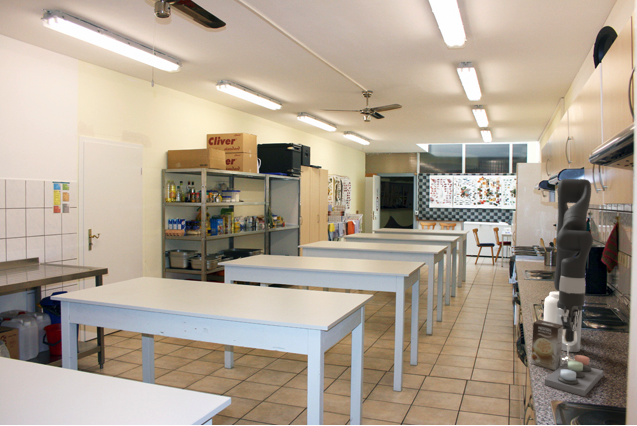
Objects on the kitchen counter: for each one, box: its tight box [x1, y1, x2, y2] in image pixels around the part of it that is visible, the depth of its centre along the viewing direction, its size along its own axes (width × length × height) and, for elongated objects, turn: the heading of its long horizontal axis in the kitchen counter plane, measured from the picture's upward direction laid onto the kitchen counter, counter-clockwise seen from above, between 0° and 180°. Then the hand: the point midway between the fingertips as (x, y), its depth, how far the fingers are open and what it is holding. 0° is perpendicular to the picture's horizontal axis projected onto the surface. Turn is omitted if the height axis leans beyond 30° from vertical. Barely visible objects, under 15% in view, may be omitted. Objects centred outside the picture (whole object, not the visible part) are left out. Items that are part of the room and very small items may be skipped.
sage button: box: [567, 361, 583, 371], centre depth 157 cm, size 5×5×2 cm
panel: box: [544, 361, 604, 397], centre depth 157 cm, size 24×12×3 cm, turn 135°
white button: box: [560, 369, 576, 381], centre depth 151 cm, size 5×5×2 cm
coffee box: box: [530, 319, 563, 371], centre depth 171 cm, size 9×6×16 cm
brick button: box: [573, 354, 590, 366], centre depth 163 cm, size 5×5×2 cm
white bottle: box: [543, 290, 559, 323], centre depth 209 cm, size 12×12×20 cm
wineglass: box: [561, 328, 577, 362], centre depth 177 cm, size 6×6×12 cm
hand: (569, 340), depth 151 cm, fingers closed
